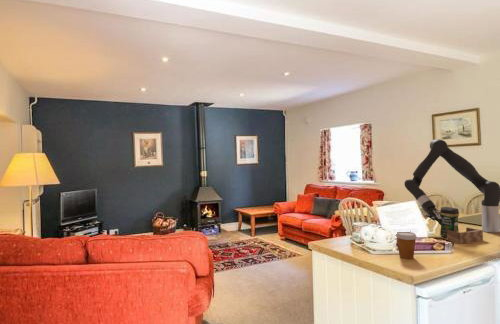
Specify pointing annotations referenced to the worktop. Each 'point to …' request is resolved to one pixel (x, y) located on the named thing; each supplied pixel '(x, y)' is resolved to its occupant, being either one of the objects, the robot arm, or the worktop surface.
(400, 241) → the disposable coffee cup
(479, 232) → the bracket
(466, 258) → the worktop surface
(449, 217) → the coffee jar
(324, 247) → the worktop surface
